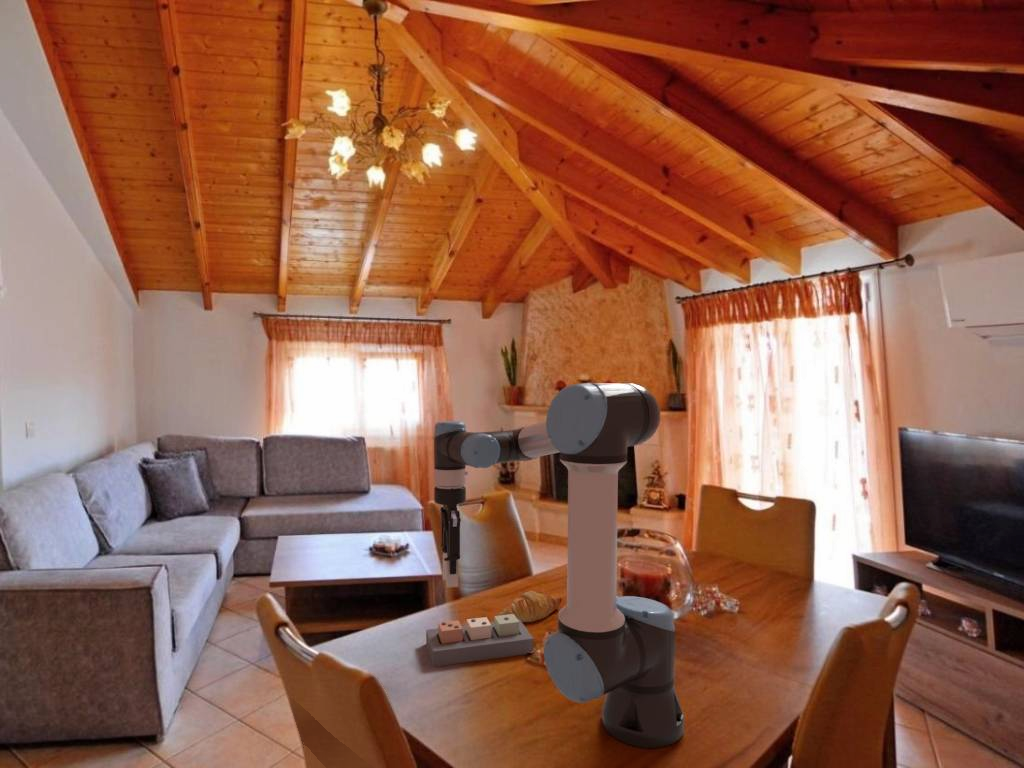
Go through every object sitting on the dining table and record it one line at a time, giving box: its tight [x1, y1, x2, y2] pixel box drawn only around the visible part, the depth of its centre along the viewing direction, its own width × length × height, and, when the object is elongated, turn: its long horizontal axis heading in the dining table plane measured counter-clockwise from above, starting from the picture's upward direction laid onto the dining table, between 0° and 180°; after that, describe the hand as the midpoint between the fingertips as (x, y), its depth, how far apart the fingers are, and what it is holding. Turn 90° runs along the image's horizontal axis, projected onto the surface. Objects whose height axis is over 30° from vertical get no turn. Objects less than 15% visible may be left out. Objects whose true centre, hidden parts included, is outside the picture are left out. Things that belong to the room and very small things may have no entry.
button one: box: [493, 614, 519, 637], centre depth 144 cm, size 5×5×3 cm
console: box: [425, 619, 534, 668], centre depth 142 cm, size 12×24×4 cm, turn 106°
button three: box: [437, 619, 463, 644], centre depth 140 cm, size 5×5×3 cm
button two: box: [466, 616, 491, 640], centre depth 142 cm, size 5×5×3 cm
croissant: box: [496, 590, 563, 624], centre depth 162 cm, size 21×10×8 cm
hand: (450, 582), depth 140 cm, fingers open, 4 cm apart
